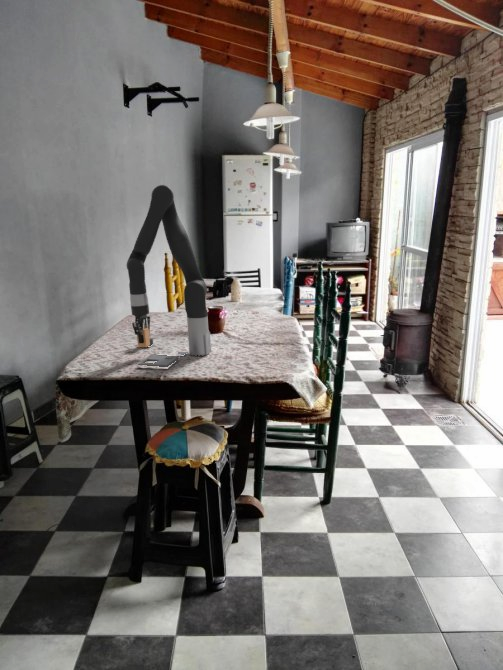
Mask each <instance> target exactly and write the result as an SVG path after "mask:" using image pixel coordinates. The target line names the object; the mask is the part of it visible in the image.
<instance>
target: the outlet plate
mask: <svg viewBox="0 0 503 670" xmlns="http://www.w3.org/2000/svg"><path fill="white" fill-rule="evenodd" d="M179 358H180V357H179V356H167V355H157V354H150V355H149V356H147V357H146V358H144V359H143V360H141V361H140V362H138V363H137V366H138V365H147V366H159V367H168V366H169V365H171V364H172V363H174V362H175V361H177V360H178V359H179ZM179 360H180V359H179ZM146 361H157V362H155V363H154V364H153V363H145V362H146ZM177 362H178V361H177Z"/></svg>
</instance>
